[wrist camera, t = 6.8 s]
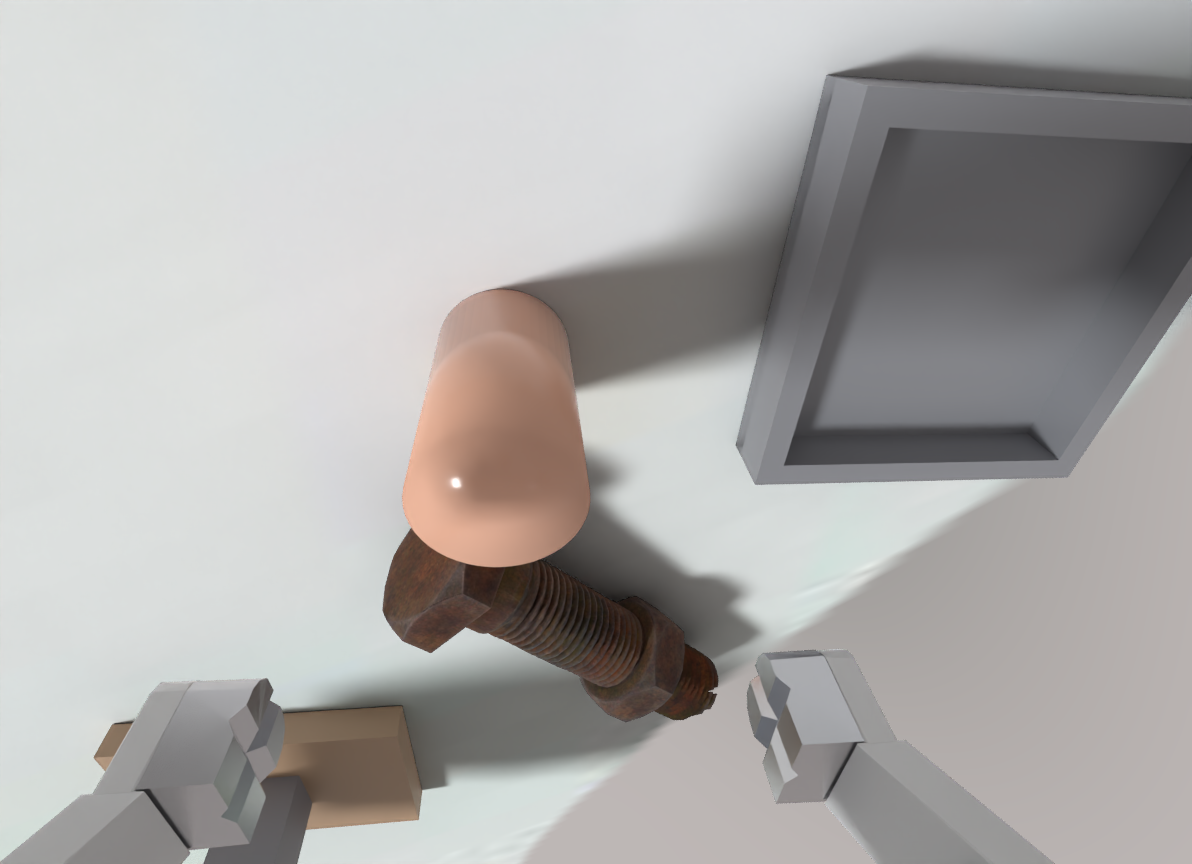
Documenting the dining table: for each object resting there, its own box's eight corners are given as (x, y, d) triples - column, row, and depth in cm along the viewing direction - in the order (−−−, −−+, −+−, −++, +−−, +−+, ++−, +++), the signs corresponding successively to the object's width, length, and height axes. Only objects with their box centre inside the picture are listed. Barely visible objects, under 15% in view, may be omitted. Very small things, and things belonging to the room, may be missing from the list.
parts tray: (826, 74, 15) (867, 85, 13) (1228, 99, 16) (1313, 112, 15) (735, 444, 22) (755, 484, 20) (1025, 440, 23) (1067, 477, 21)
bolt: (663, 626, 31) (425, 486, 23) (747, 626, 28) (501, 462, 20) (639, 749, 28) (356, 635, 20) (731, 767, 25) (432, 637, 17)
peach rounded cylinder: (432, 288, 17) (389, 429, 12) (571, 290, 18) (596, 428, 12) (444, 404, 20) (414, 570, 14) (566, 404, 20) (585, 563, 14)
